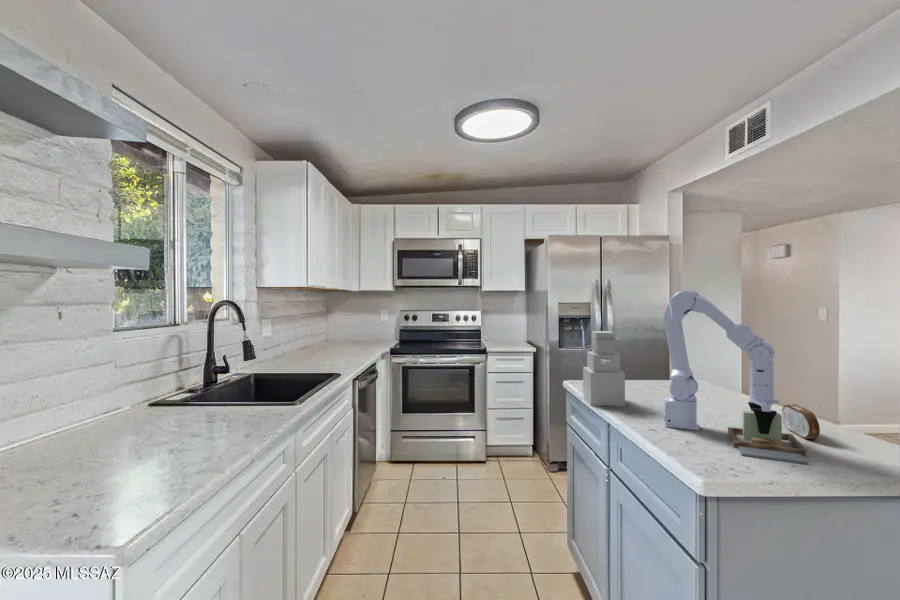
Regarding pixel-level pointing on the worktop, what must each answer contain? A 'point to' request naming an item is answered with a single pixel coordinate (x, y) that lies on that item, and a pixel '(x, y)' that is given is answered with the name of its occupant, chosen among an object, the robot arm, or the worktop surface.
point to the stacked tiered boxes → (603, 372)
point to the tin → (801, 421)
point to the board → (752, 428)
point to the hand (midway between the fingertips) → (761, 430)
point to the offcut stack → (765, 441)
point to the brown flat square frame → (792, 439)
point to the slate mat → (772, 455)
